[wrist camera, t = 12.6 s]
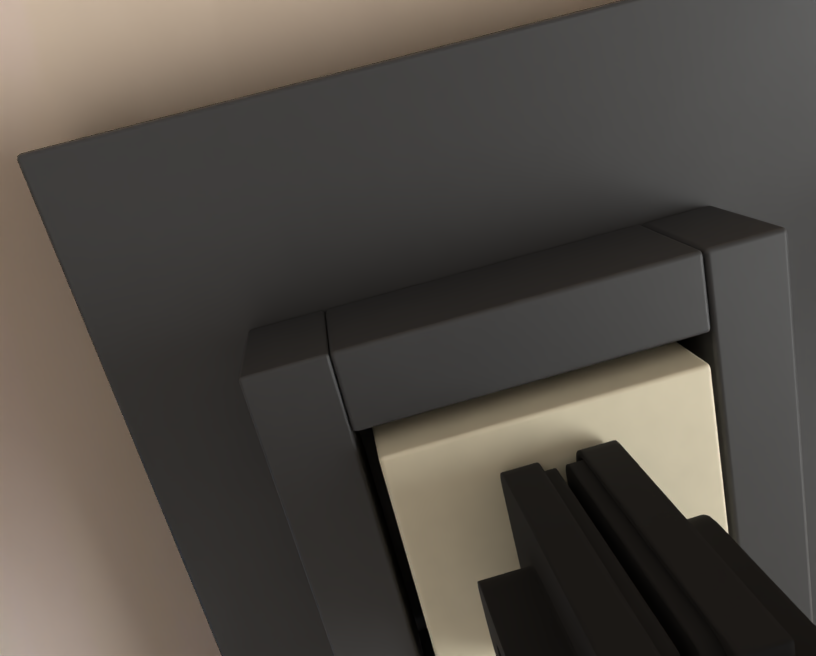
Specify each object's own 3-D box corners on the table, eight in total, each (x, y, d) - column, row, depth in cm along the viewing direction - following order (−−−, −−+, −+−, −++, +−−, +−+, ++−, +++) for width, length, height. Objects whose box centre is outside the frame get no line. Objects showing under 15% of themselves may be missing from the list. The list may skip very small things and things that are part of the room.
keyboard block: (789, 599, 18) (942, 761, 14) (301, 747, 17) (303, 965, 13) (739, -30, 13) (949, -84, 9) (67, 141, 12) (-52, 171, 8)
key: (674, 550, 13) (741, 632, 11) (429, 623, 13) (453, 720, 11) (642, 316, 12) (711, 364, 10) (364, 394, 12) (378, 459, 10)
